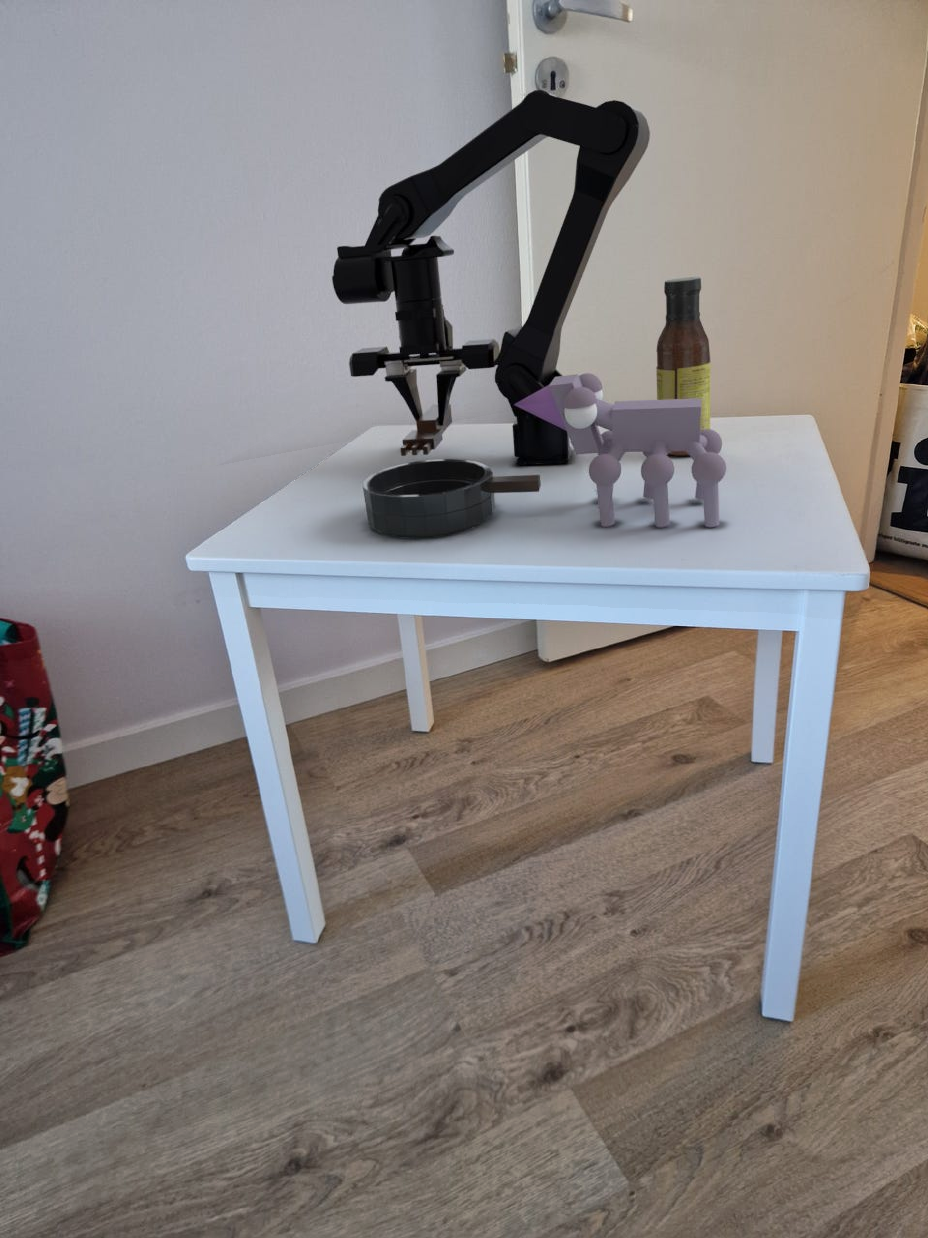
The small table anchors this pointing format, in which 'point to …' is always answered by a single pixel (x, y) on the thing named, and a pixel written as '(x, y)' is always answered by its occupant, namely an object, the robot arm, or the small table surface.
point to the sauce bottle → (684, 349)
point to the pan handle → (515, 484)
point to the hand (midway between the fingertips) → (431, 425)
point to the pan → (429, 498)
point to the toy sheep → (633, 441)
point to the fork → (426, 432)
